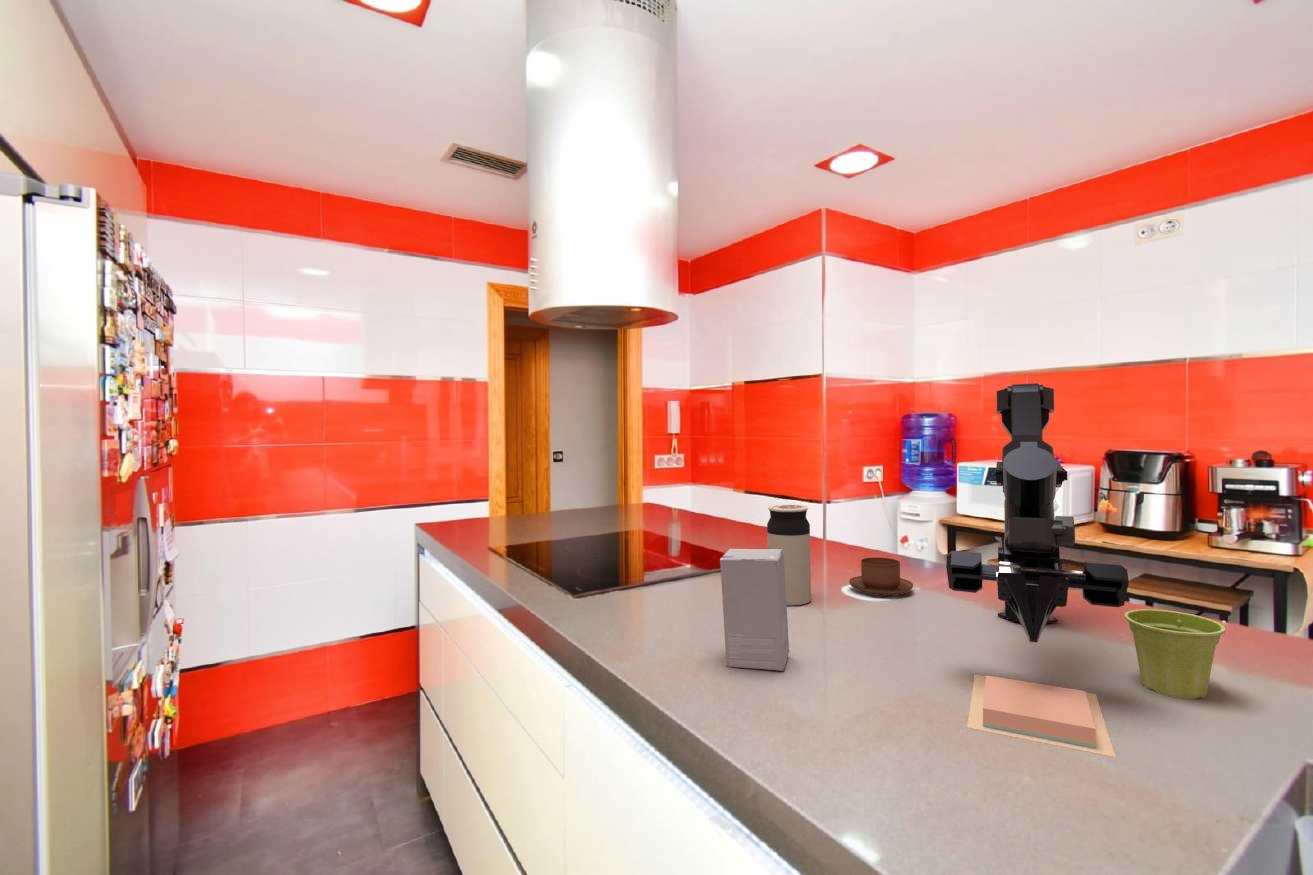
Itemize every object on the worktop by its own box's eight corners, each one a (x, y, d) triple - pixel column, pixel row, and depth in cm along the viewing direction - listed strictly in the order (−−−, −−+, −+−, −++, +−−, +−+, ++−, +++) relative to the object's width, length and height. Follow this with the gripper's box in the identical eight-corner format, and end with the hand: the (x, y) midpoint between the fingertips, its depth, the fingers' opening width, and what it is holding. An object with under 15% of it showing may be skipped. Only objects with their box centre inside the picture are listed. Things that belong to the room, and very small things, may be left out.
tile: (985, 675, 75) (982, 708, 67) (1084, 691, 70) (1095, 728, 62) (986, 691, 75) (983, 726, 67) (1085, 708, 70) (1095, 749, 62)
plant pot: (1235, 714, 69) (1234, 638, 69) (1129, 697, 74) (1129, 625, 74) (1215, 684, 77) (1214, 615, 77) (1121, 670, 82) (1120, 605, 82)
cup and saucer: (837, 587, 127) (837, 557, 127) (886, 582, 131) (885, 553, 131) (874, 603, 116) (874, 570, 116) (926, 596, 119) (926, 564, 119)
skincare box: (789, 656, 89) (787, 547, 89) (783, 675, 82) (780, 557, 82) (732, 650, 92) (730, 545, 92) (721, 668, 85) (719, 554, 85)
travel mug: (816, 598, 119) (815, 505, 119) (802, 608, 112) (801, 510, 112) (777, 593, 123) (776, 503, 123) (762, 603, 117) (760, 508, 116)
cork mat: (974, 677, 81) (974, 674, 81) (1095, 696, 74) (1095, 694, 74) (967, 730, 67) (967, 727, 67) (1115, 760, 60) (1115, 757, 60)
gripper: (946, 489, 80) (939, 594, 71) (1125, 493, 71) (1144, 615, 61) (952, 539, 87) (946, 641, 78) (1115, 549, 78) (1131, 667, 68)
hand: (1033, 640), depth 71 cm, fingers closed
